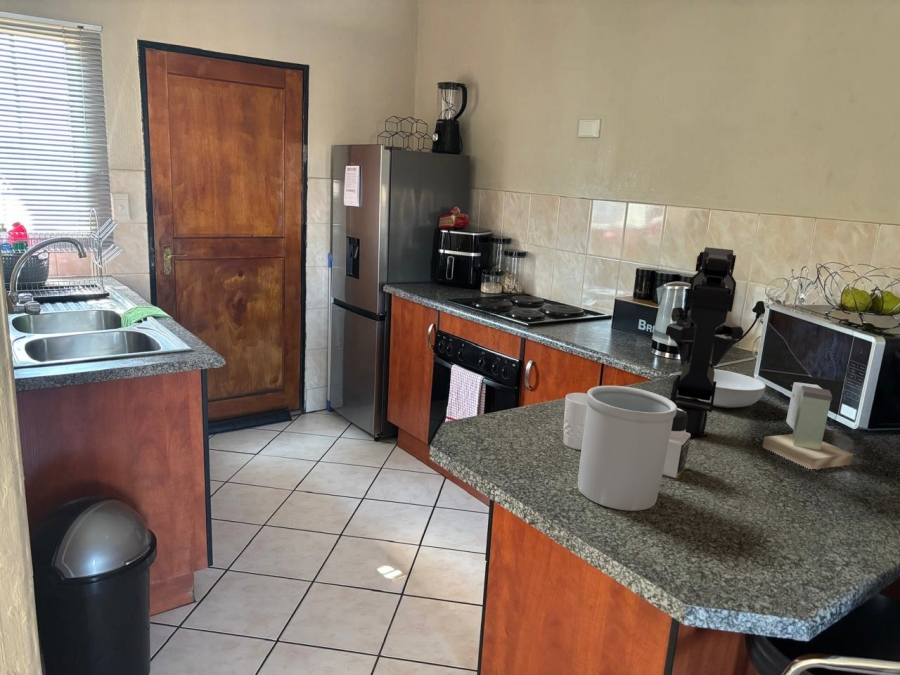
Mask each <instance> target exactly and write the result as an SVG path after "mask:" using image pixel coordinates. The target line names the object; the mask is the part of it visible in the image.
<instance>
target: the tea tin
mask: <svg viewBox="0 0 900 675" xmlns="http://www.w3.org/2000/svg"><path fill="white" fill-rule="evenodd" d="M832 400H833V395H832V392H831V391H830V390H829V389H825V388H822V389H819V388H813V387H807V386H802V387H801V395H800V400H799V405H798V410H797V415H796V419H795V424H794V429H792V430H793V431H792V433H791V434H792V442H793V446H798V447H803V448H808V449H813V450H818V451H820V449H821V444H822V441H823V439H824V434H825V429H826V425H827V419H828V415H829V410H830V406H831V402H832Z"/></svg>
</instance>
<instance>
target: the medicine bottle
mask: <svg viewBox="0 0 900 675" xmlns="http://www.w3.org/2000/svg"><path fill="white" fill-rule="evenodd" d="M687 420H688V415H687V413H686V412H684V411H683V410H681V409H678V408H677V411H676V415H675V417H674V418H673V423H672V429H671V434H670V439H669V444H668V449H667V454H666V459H665V464H664V470H663V474H662V476H665V477H666V476H667V477H670V478H673V479H677V478H678V477H679V476H680V475H681V473H682V472H683V470H684V469H685V468H686V464H687V460H688V453H689V449H690V448H689V447H690V443H691V441H690V440H691V438H692V437H691V434H690V433H686V426H687ZM690 437H691V438H690Z"/></svg>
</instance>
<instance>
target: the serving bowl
mask: <svg viewBox="0 0 900 675" xmlns="http://www.w3.org/2000/svg"><path fill="white" fill-rule="evenodd" d="M714 372H715V374H714V381H716V389H715V395H714V402H713V407H718V408H723V409H724V408H727V409H729V408H730V409H731V408H732V409H733V408H743V407H744V408H746V407H748V406H751V405H753V404H756V403H757V402H758V401H759V400H760V399H761V398H762V397H763V394H764V393H765V391H766V387H767V386H766V384H765V383H764V382H763V381H761V380H759V379H757V378H754V377H752V376H748V375H745V374H742V373H738V372H733V371H730V370H722V369H718V368H717V369H715V368H714ZM681 373H682V371H681V372H680V374H681ZM697 400H700V401H705V402H710V401H711V398H710V400H709V401H706V400H701V399H697Z"/></svg>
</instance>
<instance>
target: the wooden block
mask: <svg viewBox="0 0 900 675" xmlns="http://www.w3.org/2000/svg"><path fill="white" fill-rule="evenodd" d="M792 434H793V433H789V434H780V435H769V436H764V437H763V443H762V447H763V449H764V450H767V451H769V450H770V451H769V452H771V451H772V452H771V453H773V452H774V453H773V454H775V453H776V454H775V455H777V454H778V456H779V455H780V457H782V456H783V457H782V458H784V457H785V458H784V459H786V460H788V459H789V460H788V461H790V460H791V462H792V461H793V462H792V463H794V462H795V463H794V464H796V463H797V464H796V465H799V464H800V465H799V466H801V465H802V466H801V467H803V466H804V467H803V468H805V467H806V468H805V469H807V468H808V469H807V470H809V469H811V470H810V471H813V470H812V469H816V470H821V468H823V469H828V468H829V467H831V468H838V467H844V465H845V466H850V465H851V464H852V460H853V455H854V453H851V452H849V451H848V450H845V449H843V448H840V447H838V446H835V445H833V444H830V443H829V442H825V441H823V440H822V444H821V449H820V451H818V450H813V449H808V448H803V447H798V446H793V442H792ZM836 466H837V467H836Z"/></svg>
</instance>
